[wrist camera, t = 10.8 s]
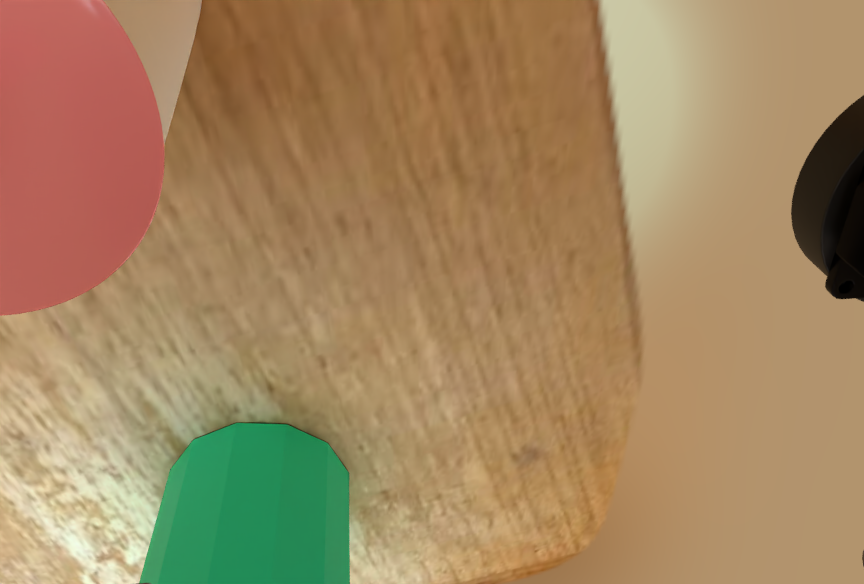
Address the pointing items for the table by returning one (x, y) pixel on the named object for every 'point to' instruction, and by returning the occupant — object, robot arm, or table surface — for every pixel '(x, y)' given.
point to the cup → (82, 137)
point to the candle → (253, 511)
